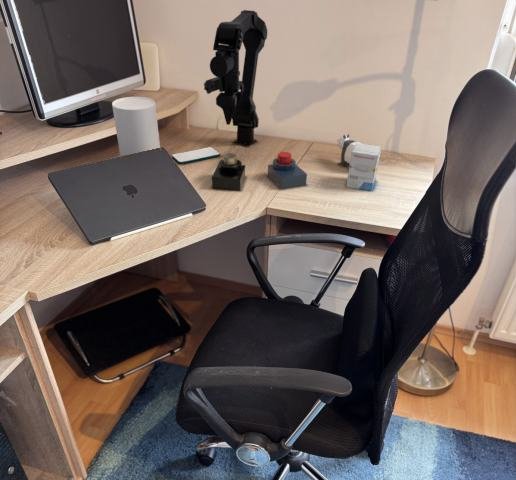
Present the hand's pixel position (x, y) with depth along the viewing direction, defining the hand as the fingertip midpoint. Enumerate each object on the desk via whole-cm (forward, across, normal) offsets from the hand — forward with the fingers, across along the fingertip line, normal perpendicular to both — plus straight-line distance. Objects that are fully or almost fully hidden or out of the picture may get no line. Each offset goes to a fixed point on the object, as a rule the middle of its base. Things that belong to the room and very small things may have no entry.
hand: (230, 119), depth 170 cm
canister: (+13, +13, -29) cm, 34 cm away
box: (+13, +16, +22) cm, 30 cm away
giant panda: (+13, -1, +42) cm, 44 cm away
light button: (+8, +19, +3) cm, 20 cm away
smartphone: (+13, +2, -12) cm, 18 cm away
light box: (+13, +21, +3) cm, 25 cm away
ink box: (+13, +14, +46) cm, 50 cm away
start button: (+8, +14, +20) cm, 26 cm away
